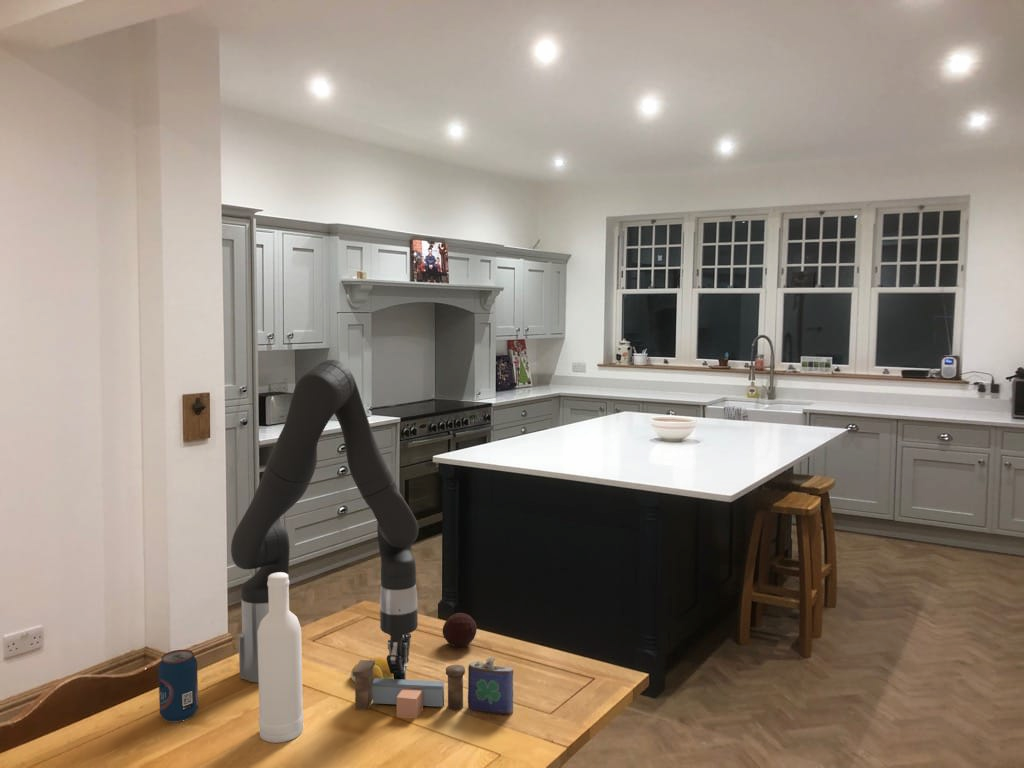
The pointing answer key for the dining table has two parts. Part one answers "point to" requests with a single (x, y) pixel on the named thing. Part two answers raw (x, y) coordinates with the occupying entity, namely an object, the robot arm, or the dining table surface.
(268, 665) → the bottle
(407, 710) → the block
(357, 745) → the dining table surface
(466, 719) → the dining table surface
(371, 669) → the stepped wooden slab
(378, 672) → the bread roll
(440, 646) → the dining table surface
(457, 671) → the dark brown cylindrical piece
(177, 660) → the soda can
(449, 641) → the dark maroon ball
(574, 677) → the dining table surface
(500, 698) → the flask
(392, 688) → the grey rectangular bar
